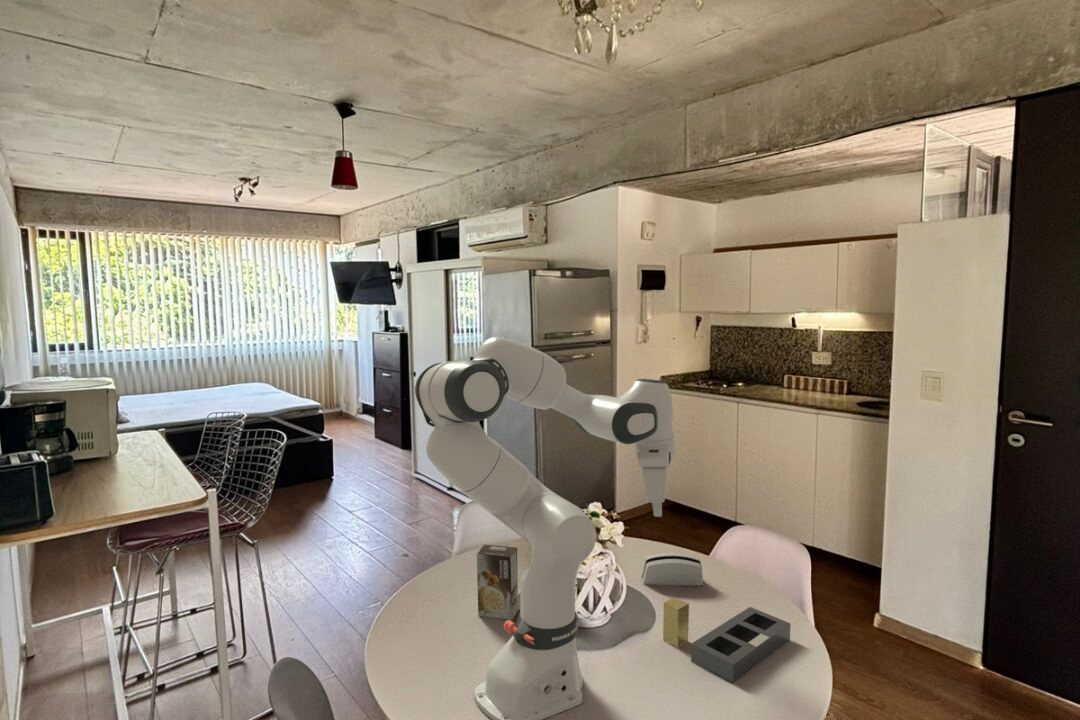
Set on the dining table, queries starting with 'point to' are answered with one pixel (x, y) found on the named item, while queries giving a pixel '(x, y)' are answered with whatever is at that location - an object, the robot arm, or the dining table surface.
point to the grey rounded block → (672, 570)
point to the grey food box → (497, 581)
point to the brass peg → (676, 621)
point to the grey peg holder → (740, 643)
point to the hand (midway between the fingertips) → (658, 507)
